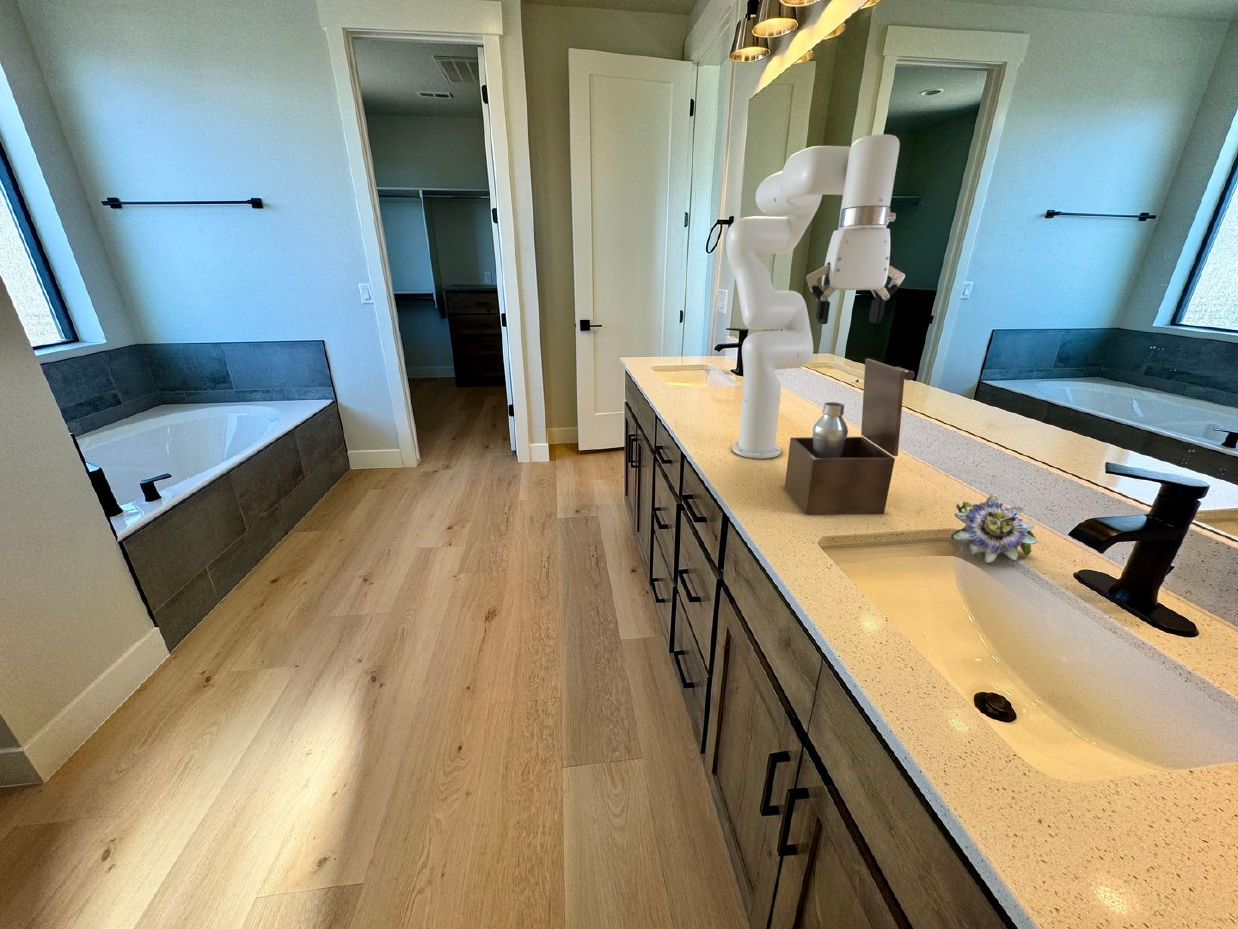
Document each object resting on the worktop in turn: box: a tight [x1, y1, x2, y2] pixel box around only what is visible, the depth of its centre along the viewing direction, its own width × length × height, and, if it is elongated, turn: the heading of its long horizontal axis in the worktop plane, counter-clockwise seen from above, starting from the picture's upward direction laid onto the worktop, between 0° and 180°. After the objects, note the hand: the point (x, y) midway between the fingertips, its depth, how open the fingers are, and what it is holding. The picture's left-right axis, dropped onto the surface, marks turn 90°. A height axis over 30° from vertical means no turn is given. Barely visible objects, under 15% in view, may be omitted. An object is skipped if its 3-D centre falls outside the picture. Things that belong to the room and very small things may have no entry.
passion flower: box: [950, 493, 1038, 564], centre depth 83 cm, size 11×11×12 cm
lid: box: [860, 358, 915, 457], centre depth 97 cm, size 16×14×5 cm
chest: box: [784, 436, 896, 516], centre depth 102 cm, size 16×14×12 cm
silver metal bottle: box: [812, 401, 849, 458], centre depth 101 cm, size 6×7×20 cm
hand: (848, 323), depth 91 cm, fingers open, 9 cm apart
